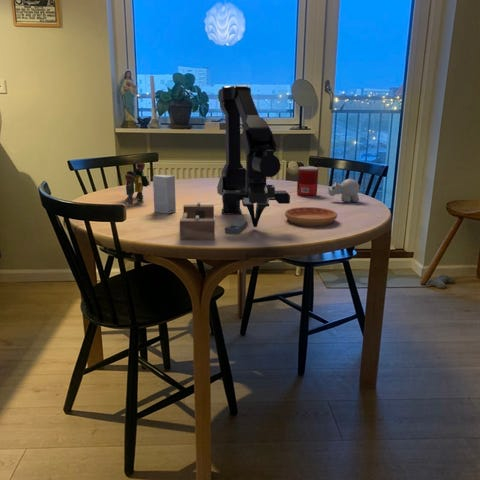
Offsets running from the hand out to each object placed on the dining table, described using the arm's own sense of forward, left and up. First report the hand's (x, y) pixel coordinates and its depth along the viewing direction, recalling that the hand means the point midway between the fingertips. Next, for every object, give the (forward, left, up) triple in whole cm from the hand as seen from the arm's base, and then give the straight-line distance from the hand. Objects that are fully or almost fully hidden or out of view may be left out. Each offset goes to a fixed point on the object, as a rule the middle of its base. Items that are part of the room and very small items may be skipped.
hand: (254, 226), depth 130 cm
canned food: (-54, +26, -1) cm, 60 cm away
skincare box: (-23, -28, -1) cm, 36 cm away
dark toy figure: (-42, -40, -1) cm, 58 cm away
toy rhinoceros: (-41, +37, -1) cm, 55 cm away
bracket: (-1, -5, -2) cm, 5 cm away
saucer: (-10, +18, -1) cm, 21 cm away
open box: (0, -16, -1) cm, 16 cm away
